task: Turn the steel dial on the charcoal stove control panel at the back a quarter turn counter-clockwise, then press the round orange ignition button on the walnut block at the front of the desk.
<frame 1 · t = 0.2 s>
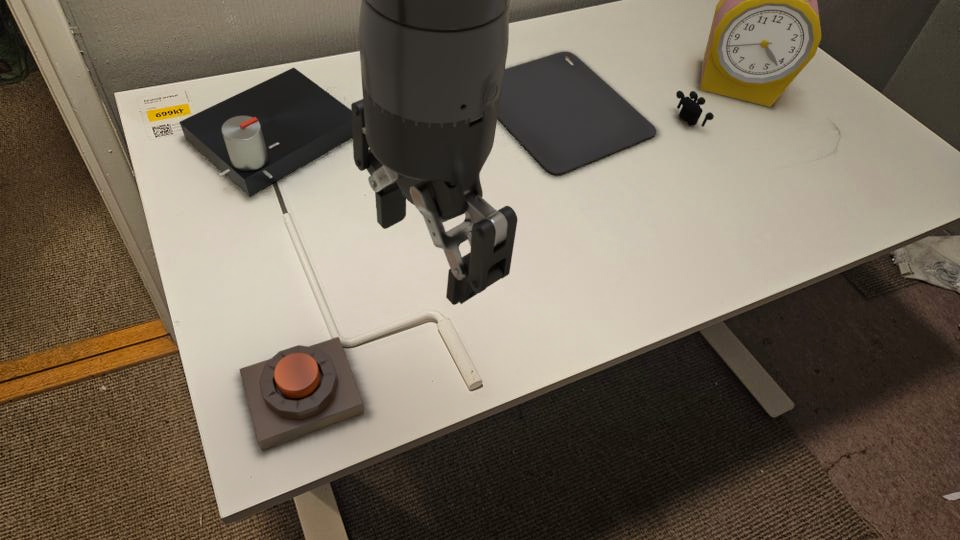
hand: (425, 257, 45), 22 cm above the table, tool pointing down, fingers open, 8 cm apart
ignition button: (297, 375, 58), point 4 cm above the table, slide at 0.1 cm
button block: (303, 395, 61), on the table
alarm clock: (734, 86, 100), on the table
dial: (245, 142, 73), point 6 cm above the table, hinge at 0.0°
mouse pad: (561, 109, 92), on the table
wireless earbuds: (683, 123, 93), on the table
stove panel: (275, 136, 83), on the table
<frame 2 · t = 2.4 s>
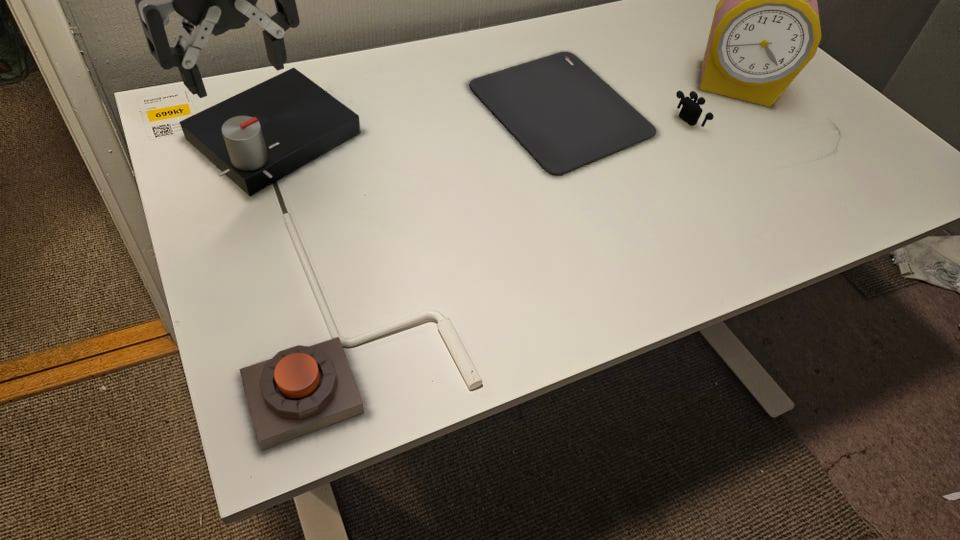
hand: (239, 79, 64), 17 cm above the table, tool pointing down, fingers open, 8 cm apart
nothing on the table moved.
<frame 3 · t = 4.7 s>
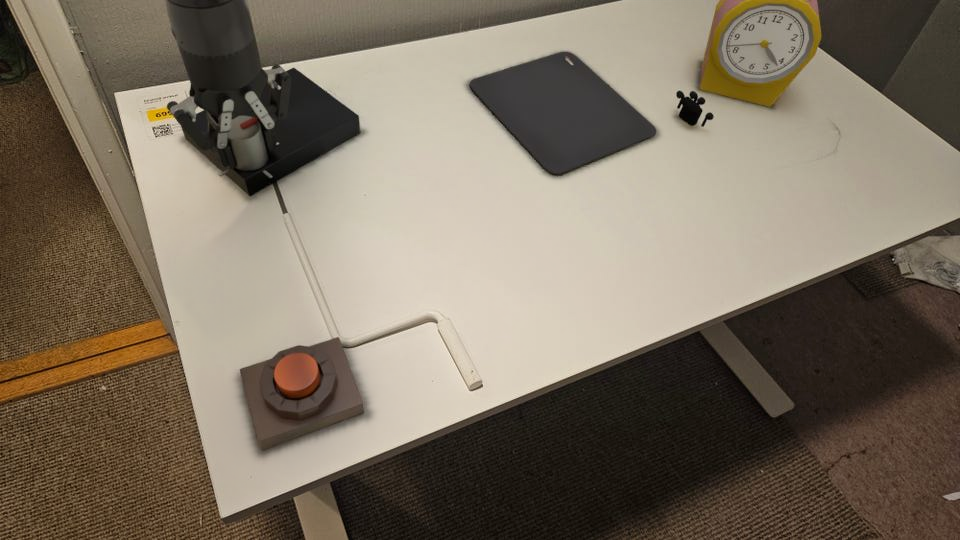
hand: (249, 156, 75), 4 cm above the table, tool pointing down, fingers closed on dial, 4 cm apart
dial: (245, 142, 73), point 6 cm above the table, hinge at -0.1°, touching gripper
everything else where it was.
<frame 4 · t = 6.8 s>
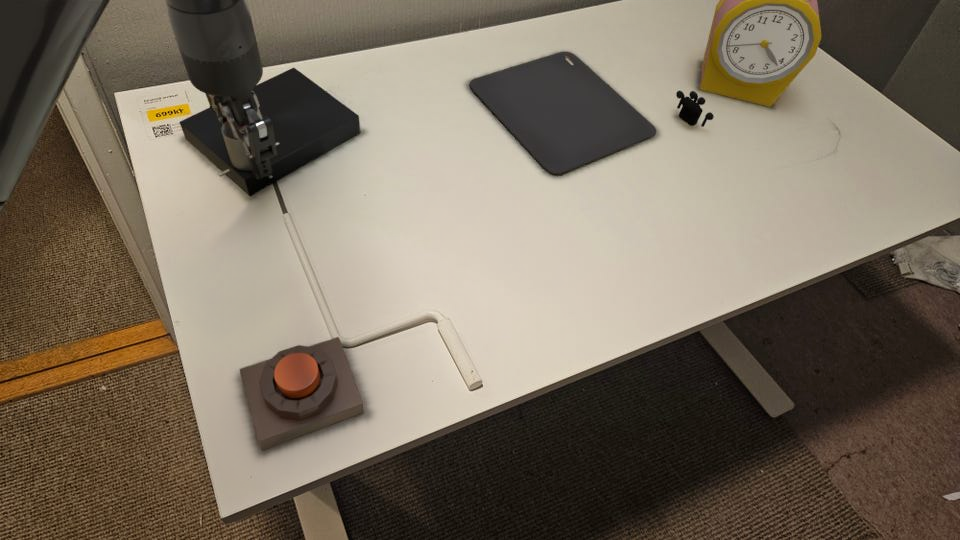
hand: (251, 160, 75), 3 cm above the table, tool pointing down, fingers open, 5 cm apart
dial: (245, 142, 73), point 6 cm above the table, hinge at 94.9°
everything else where it was.
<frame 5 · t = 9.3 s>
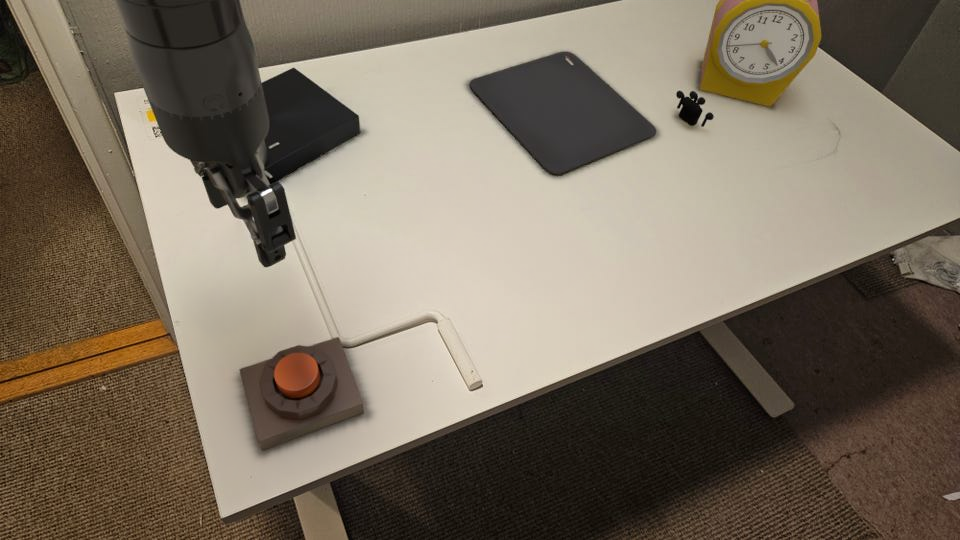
hand: (248, 230, 55), 14 cm above the table, tool pointing down, fingers open, 8 cm apart
nothing on the table moved.
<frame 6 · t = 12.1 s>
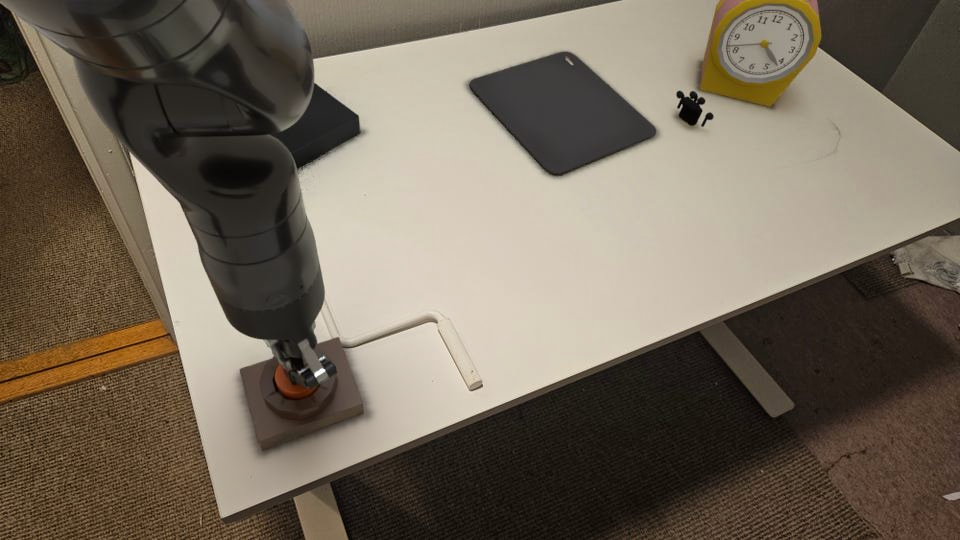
hand: (299, 374, 57), 5 cm above the table, tool pointing down, fingers closed
ignition button: (298, 377, 58), point 4 cm above the table, slide at -0.4 cm, touching gripper
everything else where it was.
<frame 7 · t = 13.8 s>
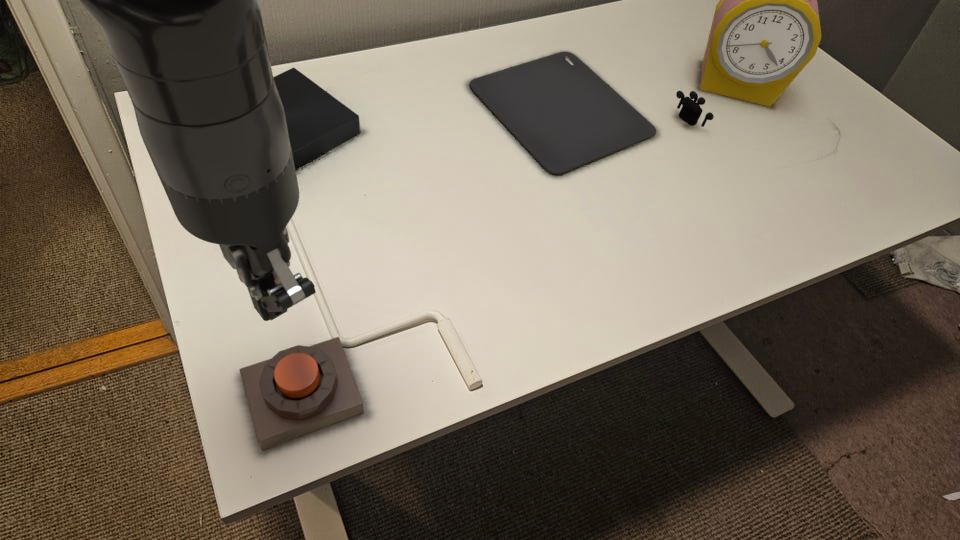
hand: (272, 309, 49), 15 cm above the table, tool pointing down, fingers closed
ignition button: (297, 375, 58), point 4 cm above the table, slide at 0.1 cm
everything else where it was.
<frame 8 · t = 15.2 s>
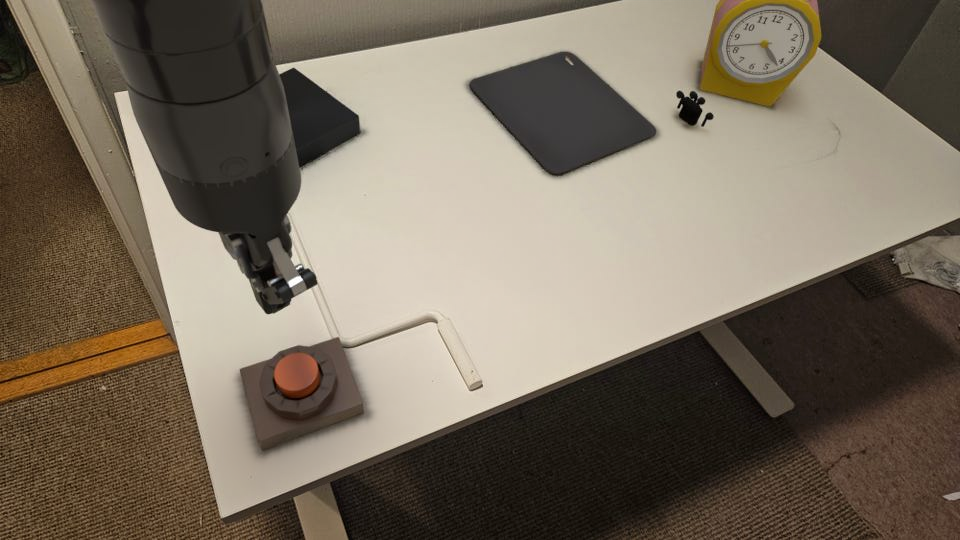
hand: (274, 302, 48), 17 cm above the table, tool pointing down, fingers closed
nothing on the table moved.
at the end: dial at +95° (first picture: +0°); ignition button pushed in 1.1 cm at the most during the clip, back to where it started at the end; ignition button slide at 0.1 cm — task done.
